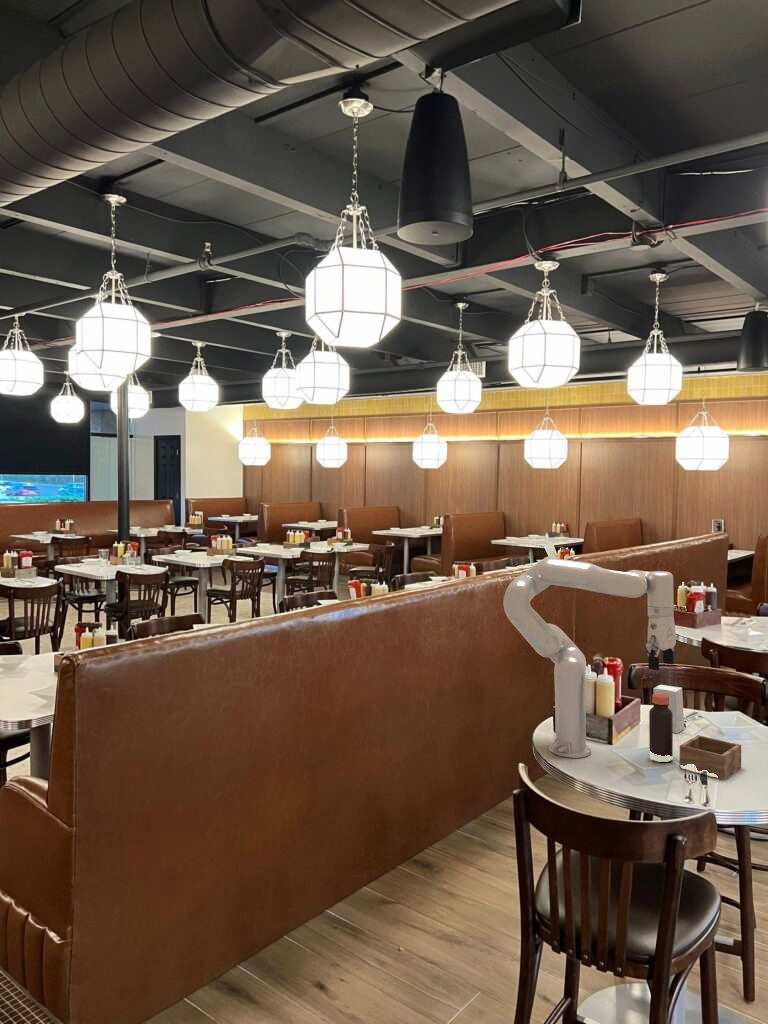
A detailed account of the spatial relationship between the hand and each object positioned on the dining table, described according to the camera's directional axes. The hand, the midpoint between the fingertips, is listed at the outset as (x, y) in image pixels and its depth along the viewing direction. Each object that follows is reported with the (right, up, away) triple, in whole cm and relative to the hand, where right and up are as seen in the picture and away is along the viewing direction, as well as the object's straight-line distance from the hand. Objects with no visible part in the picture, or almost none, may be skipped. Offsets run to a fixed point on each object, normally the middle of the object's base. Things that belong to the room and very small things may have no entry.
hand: (661, 666), depth 232 cm
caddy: (+12, -29, -7) cm, 32 cm away
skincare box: (+13, -28, +29) cm, 43 cm away
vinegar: (0, -29, +1) cm, 29 cm away
